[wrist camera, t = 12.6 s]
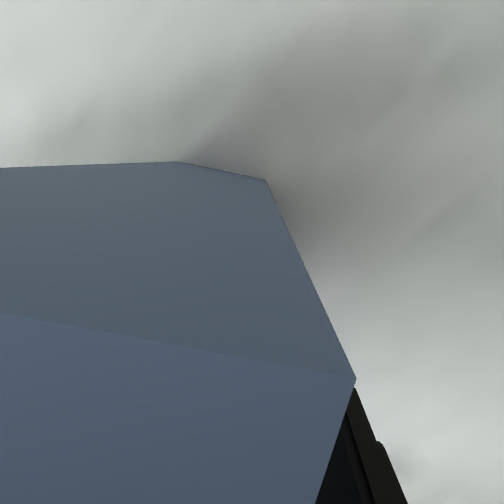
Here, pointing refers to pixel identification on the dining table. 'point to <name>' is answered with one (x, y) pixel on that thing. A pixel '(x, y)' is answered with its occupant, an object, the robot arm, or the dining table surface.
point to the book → (159, 341)
